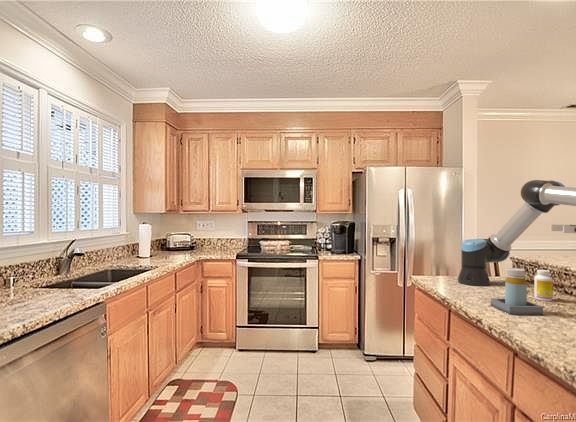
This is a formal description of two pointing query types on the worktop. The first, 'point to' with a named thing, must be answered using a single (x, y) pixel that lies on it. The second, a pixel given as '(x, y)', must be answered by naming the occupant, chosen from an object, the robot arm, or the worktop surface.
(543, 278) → the supplement bottle
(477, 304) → the worktop surface
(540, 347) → the worktop surface
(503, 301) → the tray
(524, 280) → the bottle
